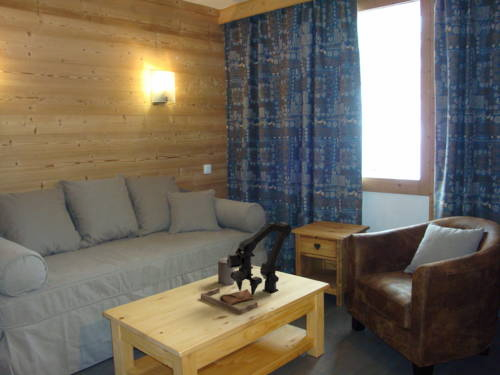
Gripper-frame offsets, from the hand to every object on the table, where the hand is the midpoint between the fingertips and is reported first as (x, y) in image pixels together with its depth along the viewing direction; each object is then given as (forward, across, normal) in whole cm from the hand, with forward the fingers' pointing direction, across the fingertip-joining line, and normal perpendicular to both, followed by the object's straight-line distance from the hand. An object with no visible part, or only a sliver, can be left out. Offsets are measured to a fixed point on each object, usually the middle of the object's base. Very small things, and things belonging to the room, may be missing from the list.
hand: (246, 292), depth 247 cm
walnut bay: (+2, 0, -13) cm, 13 cm away
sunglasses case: (+2, +1, -7) cm, 8 cm away
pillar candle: (+2, -22, +6) cm, 23 cm away
